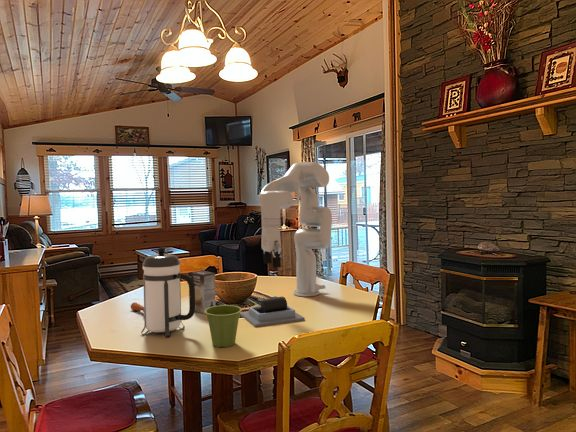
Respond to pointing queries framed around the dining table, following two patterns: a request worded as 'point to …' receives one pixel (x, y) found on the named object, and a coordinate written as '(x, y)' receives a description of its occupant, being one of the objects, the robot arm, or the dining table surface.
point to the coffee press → (164, 293)
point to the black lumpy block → (272, 304)
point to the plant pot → (223, 324)
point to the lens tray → (271, 317)
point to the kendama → (137, 306)
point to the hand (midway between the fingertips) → (272, 265)
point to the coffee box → (204, 290)
